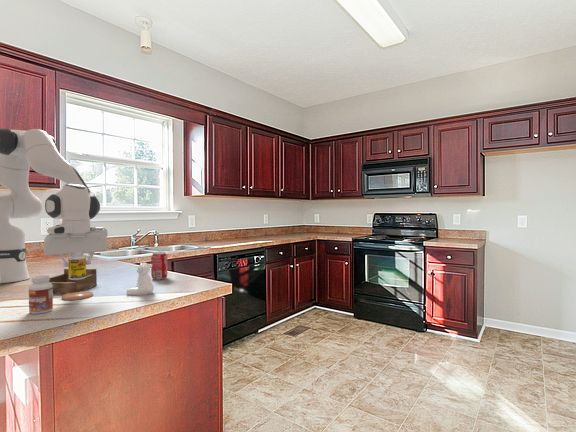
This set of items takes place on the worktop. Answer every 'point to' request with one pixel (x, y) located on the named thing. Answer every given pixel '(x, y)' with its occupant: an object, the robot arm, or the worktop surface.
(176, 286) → the worktop surface
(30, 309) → the pill bottle
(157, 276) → the soda can
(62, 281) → the frame
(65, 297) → the tan oval disc
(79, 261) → the supplement bottle
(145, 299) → the worktop surface
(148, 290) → the seated beast figurine
